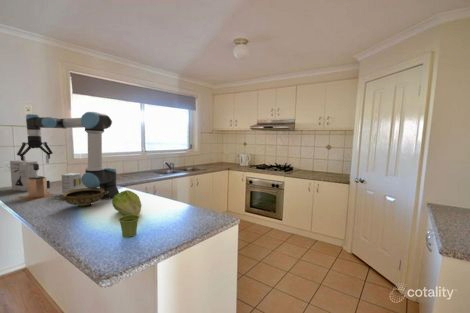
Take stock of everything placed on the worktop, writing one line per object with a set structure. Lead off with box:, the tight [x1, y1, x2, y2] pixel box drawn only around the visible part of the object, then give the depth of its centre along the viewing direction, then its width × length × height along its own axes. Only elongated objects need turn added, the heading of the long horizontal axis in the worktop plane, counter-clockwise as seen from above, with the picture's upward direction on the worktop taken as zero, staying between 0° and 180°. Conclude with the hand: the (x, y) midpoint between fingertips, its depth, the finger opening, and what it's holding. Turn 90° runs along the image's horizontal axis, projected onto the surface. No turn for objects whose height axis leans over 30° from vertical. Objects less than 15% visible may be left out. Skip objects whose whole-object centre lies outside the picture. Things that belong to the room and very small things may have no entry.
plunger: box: [33, 162, 40, 177], centre depth 168 cm, size 7×7×24 cm
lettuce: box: [111, 189, 142, 216], centre depth 140 cm, size 14×24×15 cm
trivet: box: [17, 191, 58, 202], centre depth 170 cm, size 18×18×1 cm
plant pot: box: [117, 214, 140, 238], centre depth 110 cm, size 9×9×9 cm
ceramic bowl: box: [56, 187, 109, 208], centre depth 153 cm, size 30×24×10 cm
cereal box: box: [9, 159, 39, 192], centre depth 192 cm, size 22×8×25 cm, turn 73°
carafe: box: [27, 175, 51, 198], centre depth 170 cm, size 10×13×15 cm
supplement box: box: [61, 172, 82, 194], centre depth 181 cm, size 10×9×17 cm
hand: (36, 164), depth 167 cm, fingers open, 13 cm apart
